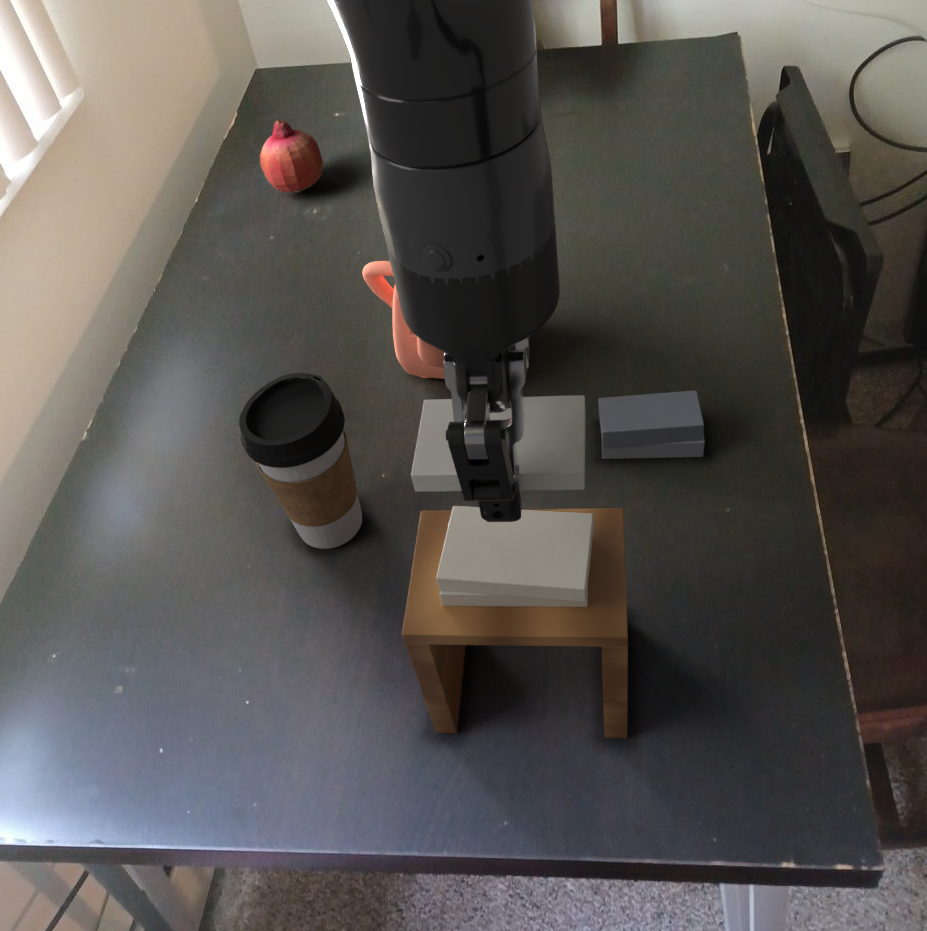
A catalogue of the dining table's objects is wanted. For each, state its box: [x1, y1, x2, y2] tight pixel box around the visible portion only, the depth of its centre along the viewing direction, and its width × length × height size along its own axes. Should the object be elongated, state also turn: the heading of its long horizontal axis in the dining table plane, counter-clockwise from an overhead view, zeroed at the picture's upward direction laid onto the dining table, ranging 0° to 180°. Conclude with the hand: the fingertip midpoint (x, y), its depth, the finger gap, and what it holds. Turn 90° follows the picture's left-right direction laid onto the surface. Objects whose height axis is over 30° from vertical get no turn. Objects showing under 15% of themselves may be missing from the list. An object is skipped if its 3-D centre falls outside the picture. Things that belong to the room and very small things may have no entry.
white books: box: [436, 505, 594, 607], centre depth 58 cm, size 10×7×3 cm
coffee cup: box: [238, 372, 363, 550], centre depth 76 cm, size 8×8×15 cm
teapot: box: [361, 260, 445, 380], centre depth 90 cm, size 17×16×13 cm
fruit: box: [259, 119, 324, 194], centre depth 118 cm, size 8×8×10 cm
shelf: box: [401, 507, 629, 739], centre depth 64 cm, size 14×10×14 cm
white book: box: [410, 394, 586, 493], centre depth 50 cm, size 9×6×1 cm, turn 85°
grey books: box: [597, 390, 706, 460], centre depth 82 cm, size 9×5×4 cm, turn 85°
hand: (506, 471), depth 52 cm, fingers closed on white book, 5 cm apart
